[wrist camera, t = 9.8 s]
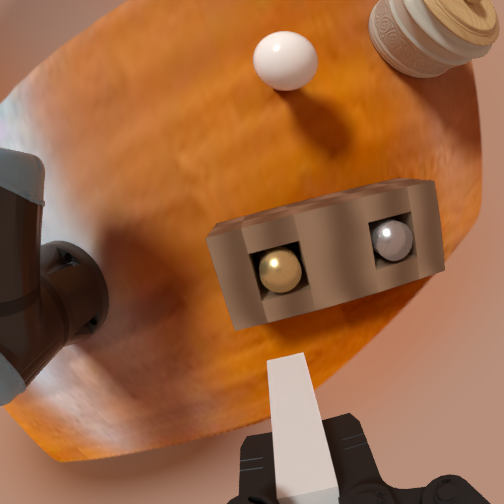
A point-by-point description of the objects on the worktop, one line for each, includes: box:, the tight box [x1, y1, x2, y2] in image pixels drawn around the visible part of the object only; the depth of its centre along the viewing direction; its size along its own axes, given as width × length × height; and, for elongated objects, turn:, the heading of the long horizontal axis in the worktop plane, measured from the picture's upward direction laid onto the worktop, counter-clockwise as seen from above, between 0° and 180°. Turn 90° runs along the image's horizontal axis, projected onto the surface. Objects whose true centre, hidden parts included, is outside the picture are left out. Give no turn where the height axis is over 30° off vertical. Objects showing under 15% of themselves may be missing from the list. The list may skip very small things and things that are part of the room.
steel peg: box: [368, 217, 413, 261], centre depth 33 cm, size 4×4×8 cm
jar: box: [368, 0, 499, 78], centre depth 23 cm, size 13×13×18 cm
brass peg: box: [257, 243, 301, 293], centre depth 34 cm, size 4×4×8 cm
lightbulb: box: [253, 31, 318, 91], centre depth 29 cm, size 6×6×11 cm
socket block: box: [206, 178, 445, 330], centre depth 35 cm, size 24×10×9 cm, turn 105°
